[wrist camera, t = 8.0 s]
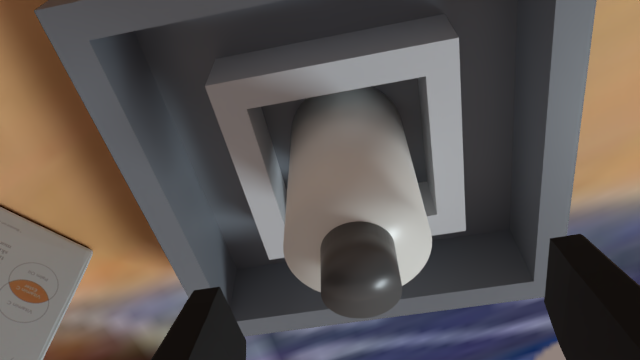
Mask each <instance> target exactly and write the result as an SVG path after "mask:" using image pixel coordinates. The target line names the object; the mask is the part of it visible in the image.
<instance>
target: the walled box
mask: <svg viewBox="0 0 640 360" xmlns="http://www.w3.org/2000/svg"><path fill="white" fill-rule="evenodd" d="M595 7H596V0H48V1H47V2H45V3H44V4H42V5H41V6H40V7H38V8H37V9H36V10H34V12H35V14H36V16H37V18H38V19H39V21H40V23H41V25H42V27H43V29H44V31H45V32H46V34H47V36H48V38H49V40H50V42H51V44H52V45H53V47H54V49H55V51H56V53H57V55H58V56H59V58H60V60H61V62H62V64H63V66H64V68H65V69H66V71H67V73H68V75H69V77H70V79H71V81H72V82H73V84H74V86H75V88H76V90H77V92H78V94H79V95H80V97H81V99H82V101H83V103H84V105H85V106H86V108H87V110H88V112H89V114H90V116H91V118H92V119H93V121H94V123H95V125H96V127H97V129H98V131H99V132H100V134H101V136H102V138H103V140H104V142H105V144H106V145H107V147H108V149H109V151H110V153H111V155H112V156H113V158H114V160H115V162H116V164H117V166H118V168H119V169H120V171H121V173H122V175H123V177H124V179H125V181H126V182H127V184H128V186H129V188H130V190H131V192H132V193H133V195H134V197H135V199H136V201H137V203H138V205H139V206H140V208H141V210H142V212H143V214H144V216H145V218H146V219H147V221H148V223H149V225H150V227H151V229H152V231H153V232H154V234H155V236H156V238H157V240H158V242H159V243H160V245H161V247H162V249H163V251H164V253H165V255H166V256H167V258H168V260H169V262H170V264H171V266H172V268H173V269H174V271H175V273H176V275H177V277H178V279H179V280H180V282H181V284H182V286H183V288H184V290H185V292H186V293H187V295H188V297H190V296H191V294H192V293H193V291H194V290H200V289H206V288H213V287H220V288H221V290H222V292H223V294H224V296H225V298H226V300H227V303H228V305H229V307H230V309H231V311H232V313H233V315H234V317H235V319H236V321H237V323H238V325H239V327H240V329H241V331H242V333H243V335H244V336H251V335H259V334H266V333H274V332H282V331H289V330H297V329H304V328H312V327H320V326H327V325H335V324H343V323H350V322H358V321H365V320H373V319H381V318H388V317H396V316H404V315H411V314H419V313H427V312H434V311H442V310H449V309H457V308H465V307H472V306H480V305H488V304H495V303H503V302H510V301H518V300H526V299H533V298H541V297H545V288H546V277H547V266H548V255H549V243H550V238H556V237H563V236H567V229H568V221H569V213H570V205H571V197H572V189H573V181H574V174H575V166H576V158H577V150H578V142H579V134H580V126H581V118H582V110H583V102H584V94H585V86H586V79H587V71H588V63H589V55H590V47H591V39H592V31H593V23H594V15H595ZM365 87H373V88H375V89H377V90H379V91H380V92H382V93H383V94H384V95H386V96H387V97H388V98H389V99H390V100H391V101H392V103H393V104H394V105H395V107H396V109H397V111H398V113H399V116H400V119H401V122H402V126H403V130H404V133H405V137H406V141H407V145H408V148H409V152H410V156H411V160H412V163H413V167H414V171H415V174H416V178H417V182H418V186H419V189H420V193H421V197H422V200H423V204H424V208H425V212H426V215H427V219H428V223H429V226H430V230H431V235H432V249H431V253H430V256H429V259H428V261H427V262H426V264H425V266H424V267H423V269H422V270H421V271H420V272H419V273H418V274H417V275H416V276H415V277H414V278H413V279H412V280H410V281H409V282H408V283H406V284H405V285H403V286H402V295H401V298H400V300H399V301H398V303H397V304H396V305H395V306H394V307H393V308H392V309H390V310H389V311H387V312H385V313H383V314H381V315H378V316H374V317H370V318H349V317H344V316H341V315H338V314H336V313H334V312H333V311H331V310H330V309H329V308H328V307H327V306H326V305H325V304H324V302H323V300H322V298H321V292H318V291H316V290H314V289H312V288H310V287H308V286H307V285H305V284H304V283H302V282H301V281H300V280H299V279H298V278H297V277H296V276H295V275H294V274H293V273H292V272H291V270H290V268H289V267H288V265H287V263H286V260H285V257H284V252H283V241H284V228H285V214H286V201H287V187H288V174H289V160H290V147H291V133H292V124H293V120H294V117H295V114H296V112H297V110H298V109H299V107H300V106H301V104H302V103H303V102H304V101H305V100H306V99H307V98H311V97H316V96H321V95H327V94H332V93H338V92H343V91H349V90H354V89H359V88H365Z"/></svg>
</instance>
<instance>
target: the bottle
mask: <svg viewBox="0 0 640 360" xmlns="http://www.w3.org/2000/svg"><path fill="white" fill-rule="evenodd" d="M431 249H432V235H431V230H430V226H429V223H428V219H427V215H426V212H425V208H424V204H423V200H422V197H421V193H420V189H419V186H418V182H417V178H416V174H415V171H414V167H413V163H412V160H411V156H410V152H409V148H408V145H407V141H406V137H405V133H404V130H403V126H402V122H401V119H400V116H399V113H398V111H397V109H396V107H395V105H394V104H393V103H392V101H391V100H390V99H389V98H388V97H387V96H386V95H384V94H383V93H382V92H380V91H379V90H377V89H375V88H373V87H365V88H359V89H354V90H349V91H343V92H338V93H332V94H327V95H321V96H316V97H311V98H307V99H306V100H305V101H304V102H303V103H302V104H301V106H300V107H299V109H298V110H297V112H296V114H295V117H294V120H293V124H292V133H291V147H290V160H289V174H288V187H287V201H286V214H285V228H284V241H283V252H284V257H285V260H286V263H287V265H288V267H289V268H290V270H291V272H292V273H293V274H294V275H295V276H296V277H297V278H298V279H299V280H300V281H301V282H302V283H304V284H305V285H307V286H308V287H310V288H312V289H314V290H316V291H318V292H321V298H322V300H323V302H324V304H325V305H326V306H327V307H328V308H329V309H330V310H331V311H333V312H334V313H336V314H338V315H341V316H344V317H349V318H370V317H374V316H378V315H381V314H383V313H385V312H387V311H389V310H390V309H392V308H393V307H394V306H395V305H396V304H397V303H398V301H399V300H400V298H401V295H402V286H403V285H405V284H406V283H408V282H409V281H410V280H412V279H413V278H414V277H415V276H416V275H417V274H418V273H419V272H420V271H421V270H422V269H423V267H424V266H425V264H426V262H427V261H428V259H429V256H430V253H431Z"/></svg>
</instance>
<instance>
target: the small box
mask: <svg viewBox="0 0 640 360" xmlns="http://www.w3.org/2000/svg"><path fill="white" fill-rule="evenodd" d="M92 254H93V251H92V250H91V249H89V248H86V247H84V246H82V245H80V244H77V243H75V242H73V241H71V240H69V239H67V238H65V237H63V236H61V235H59V234H56V233H54V232H52V231H50V230H48V229H46V228H44V227H42V226H40V225H38V224H35V223H33V222H31V221H29V220H27V219H25V218H23V217H21V216H19V215H16V214H14V213H12V212H10V211H8V210H6V209H4V208H2V207H0V360H43V358H44V356H45V354H46V352H47V350H48V347H49V345H50V343H51V341H52V339H53V337H54V335H55V333H56V331H57V329H58V327H59V325H60V323H61V321H62V319H63V317H64V315H65V312H66V310H67V308H68V306H69V304H70V302H71V300H72V298H73V296H74V294H75V292H76V290H77V287H78V285H79V283H80V281H81V279H82V277H83V275H84V273H85V271H86V269H87V266H88V264H89V262H90V259H91V257H92Z"/></svg>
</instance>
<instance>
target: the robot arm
mask: <svg viewBox="0 0 640 360" xmlns="http://www.w3.org/2000/svg"><path fill="white" fill-rule="evenodd" d="M544 302H545V305H546V308H547V311H548V314H549V317H550V320H551V323H552V326H553V328H554V331H555V334H556V337H557V339H558V342H559V345H560V347H561V349H562V351H563V354H564V356H565V358H566V360H640V286H639V285H638V284H637V283H636V282H635V281H634V280H633V279H631V278H630V277H629V276H628V275H627V274H626V273H625V272H623V271H622V270H621V269H620V268H619V267H618V266H617V265H615V264H614V263H613V262H612V261H611V260H610V259H609V258H608V257H607V256H605V255H604V254H603V253H602V252H601V251H600V250H599V249H598V248H597V247H595V246H594V245H593V244H592V243H591V242H590V241H589V240H588V239H587V238H586V237H584V236H583V235H581V234H576V235H570V236H563V237H556V238H550V243H549V255H548V266H547V277H546V288H545V299H544ZM151 360H246V340H245V337H244V335H243V333H242V331H241V329H240V327H239V325H238V323H237V321H236V319H235V317H234V315H233V313H232V311H231V309H230V307H229V305H228V303H227V300H226V298H225V296H224V294H223V292H222V290H221V288H220V287H213V288H206V289H200V290H194V291H193V293H192V294H191V296H190V297H189V299H188V300H187V302H186V304H185V305H184V307H183V309H182V310H181V312H180V314H179V315H178V317H177V319H176V320H175V322H174V324H173V325H172V327H171V328H170V330H169V332H168V333H167V335H166V337H165V338H164V340H163V342H162V343H161V345H160V346H159V348H158V350H157V351H156V353H155V354H154V356H153V357H152V359H151Z"/></svg>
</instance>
